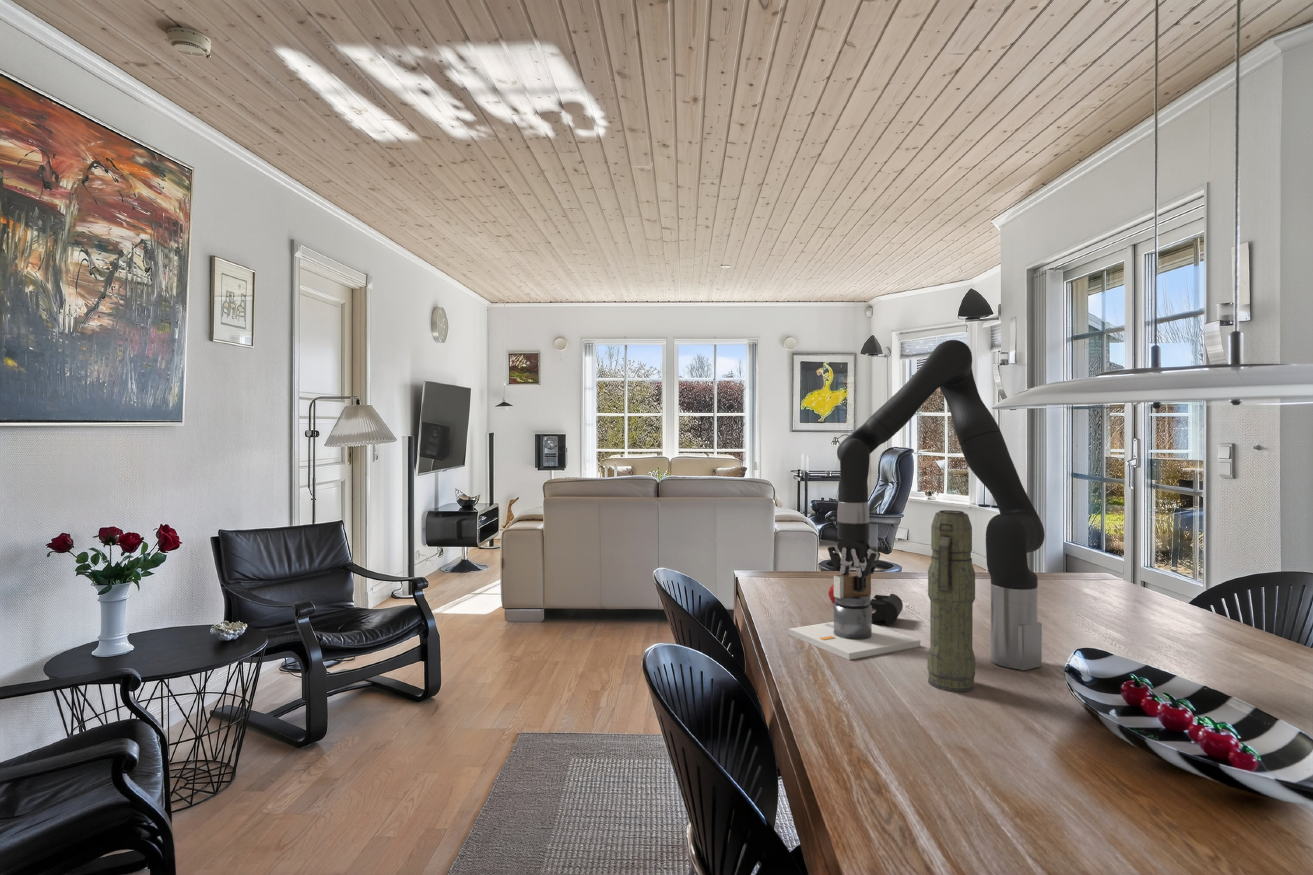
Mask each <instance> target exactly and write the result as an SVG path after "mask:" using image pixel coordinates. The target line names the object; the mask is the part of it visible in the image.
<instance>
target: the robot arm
mask: <svg viewBox="0 0 1313 875" xmlns="http://www.w3.org/2000/svg"><path fill="white" fill-rule="evenodd" d="M972 368H973V354H972V351H971V349H970V347H969V345H967V344H966V343H965V342H964V341H961V340H958V339H950V340H948V339H947V340H945V341H943V342H941V343H939V344H938V345H937V346H935V348H934V350H933V351H932V352H931V354H929V356H928V357H927V358H926V359H925V361H924V362H923V363H922V365H921V366H920V367H919V369H918V370H917V371H915V373H914V374H913V375H912V376H911V378H910V379H909V380H907V381H906V383H905V384H904V385H903V386H902V387H901V388H900V389H899V390H897V392H896V393H895V394H893V396H891V397H890V398H889V399H888V400H887V401H886V402H885V403H884V404H883V405H882V406H880V407H879V408H878V409H877V410H876V411H875V412H874V413H873V414H872V415H871V416H870V417H869V418H868V419H867V420H866V421H865V422H864V423H863V424H862V425H861V426H859V427H858V428H857V429H856V430H854V431H853V432H852V433H851V434H849V435H848V436H847V437H845V438H844V439H843V440H842V441H841V443H840V444H839V445H838V447H837V450H836V455H837V458H838V460H839V465H840V466H839V467H840V468H839V469H840V470H839V471H840V472H839V474H840V478H839V480H838V489H837V490H838V493H837V495H838V496H837V497H838V500H837V501H838V502H837V503H838V504H837V514H836V516H837V518H836V519H837V532H836V533H837V539H838V540H837V541H838V542H837V544H836V545H832V546H831V545H830V546H829V547H828V548H827V551H828V555H829V559H830V560H831V563H832V567H833V570H834V571H837V572H839V573H840V575H847V574H851V573H850V571H851V566H852V564H853V566H854V568H856V574H857V575H858V577H857V592H863V591H864V590H865V589H866V576H867V575H871V576H872V575H874V573H875V570H876V567H877V565H878V563H879V560H880V556H881V552H879V551H874V550H873V549H871V547H870V544H869V540H870V509H869V485H868V481H869V480H868V479H869V474H870V473H869V472H870V461H871V460H870V454H872V453H873V452H874V451H875V450H876V449H877V448H878V447H880V446H881V445H882V444H885V443H887V441H890V439H891V438H893V437H894V436H895V435H896V434H897V433H898V432H899V431H900V430H901V429H902V428H904V426H905V425H907V424H908V423H909V421H910V420H911V419H912V418H913V417H914V416H915V414H917V412H918V410H919V409H920V408H921V407H922V406H923V404H924V403H925V402H926V401H927V400H928V398H930V397H931V396H932V395H933V394H934V393H935V392H936V391H937V390H938V389H940V391H941V393H942V395H943V397H944V399H945V401H946V403H947V406H948V409H949V411H950V415H951V420H952V423H953V427H954V432H955V434H956V437H957V440H958V444H959V446H960V449H961V451H962V455H963V457H964V460H965V461H966V464H967V466H968V467H969V469H970V470H971V471H972V473H973V474H974V475H975V476H976V478H977V479H978V480H979V481H980V482H981V484H983V486H985V488H986V490H988V492H989V493H990V494H991V496H992V498H993V499H994V502H995V504H996V506H997V509H998V511H999V513H998V514H996V515H994V516H993V517H991V518H990V519H989V520H988V524H987V525H986V530H985V556H986V557H985V558H986V567H987V571H988V573H989V576H990V662H992V663H993V664H995V665H998V666H1001V667H1003V668H1004V667H1005V668H1010V669H1017V670H1020V671H1028V670H1032V669H1036V668H1041V667H1042V666H1043V665H1042V664H1043V661H1042V658H1043V657H1042V656H1043V652H1042V651H1043V650H1042V648H1043V647H1042V644H1043V643H1042V642H1043V639H1042V636H1043V635H1042V634H1043V632H1042V630H1043V627H1042V626H1043V625H1042V622H1040V621H1038V586H1039V585H1038V580H1039V578H1038V575H1037V574H1036V573H1035V572H1033V571H1032V570H1030V568H1029V566H1028V563H1029V562H1028V554H1029V553H1033V552H1036V551H1038V550H1039V549H1040V548H1041V547H1042V546H1043V544H1044V541H1045V529H1044V528H1045V527H1044V525H1043V522H1042V521H1041V518H1040V516H1039V514H1038V513H1037V511H1036V509H1035V507H1034V505H1033V504H1032V501H1031V500H1030V498H1029V496H1028V494H1027V492H1026V490H1025V488H1024V486H1023V484H1022V482H1021V481H1022V480H1021V479H1020V476H1019V474H1018V472H1017V469H1016V467H1015V464H1014V462H1013V459H1012V458H1011V455H1010V452H1009V450H1008V449H1009V448H1008V446H1007V443H1006V441H1005V439H1004V436H1003V434H1002V431H1001V428H1000V427H999V425H998V423H997V421H996V419H995V418H994V416H993V415H992V413H991V411H990V410H989V409H988V408H987V406H986V405H985V403H984V401H983V400H982V397H981V395H980V393H979V391H978V390H979V389H978V388H977V384H976V381H975V377H974V374H973V369H972ZM866 556H867V558H866Z"/></svg>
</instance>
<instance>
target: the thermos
mask: <svg viewBox="0 0 1313 875" xmlns="http://www.w3.org/2000/svg"><path fill="white" fill-rule="evenodd" d="M930 529H931V530H930V533H931V535H930V536H931V542H930V543H931V544H930V546H931V552H932V554H931V557H930V558H931V559H930V565H929V566H928V569H927V596H928V598H929V600H930V603H929V604H930V606H929V607H930V609H929V610H930V611H929V613H930V615H929V617H930V618H929V619H930V621H929V622H930V626H929V627H930V628H929V629H930V630H929V632H930V633H929V634H930V636H929V638H930V639H929V641H930V644H929V645H930V647H929V649H928V652H927V654H926V656H927V657H926V658H927V660H926V661H927V662H926V665H927V667H926V668H927V671H928V678H927V680H928V684H929V685H930V686H932V687H934V688H936V689H938V690H943V691H946V692H952V693H953V692H955V693H966V692H972V691H973V690H974V689H975V676H976V657H975V656H976V655H975V651H974V649H973V624H974V623H973V622H974V621H973V613H974V612H973V605H974V604H973V603H975V600H976V572H975V568H974V566H973V558H972V552H973V526H972V523H971V519H970V517H969V514H968V513H966V512H964V511H963V510H954V509H953V510H951V509H948V510H946V509H945V510H938V512H935V514H934V517H933V519H932V523H931V527H930Z"/></svg>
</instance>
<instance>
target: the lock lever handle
mask: <svg viewBox="0 0 1313 875" xmlns="http://www.w3.org/2000/svg"><path fill="white" fill-rule="evenodd" d="M857 577H858V575H857V573H850V574H847V575H841V574H836V575H835V574H834V575H833V584H834V597H835V604H836V605H839V606H842V607H848V608H865V607H869V606H870V605H871V600H872V599H871V595H872V574H871V575H867V576H866V589H865V590H864V591H863V592H857Z"/></svg>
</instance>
